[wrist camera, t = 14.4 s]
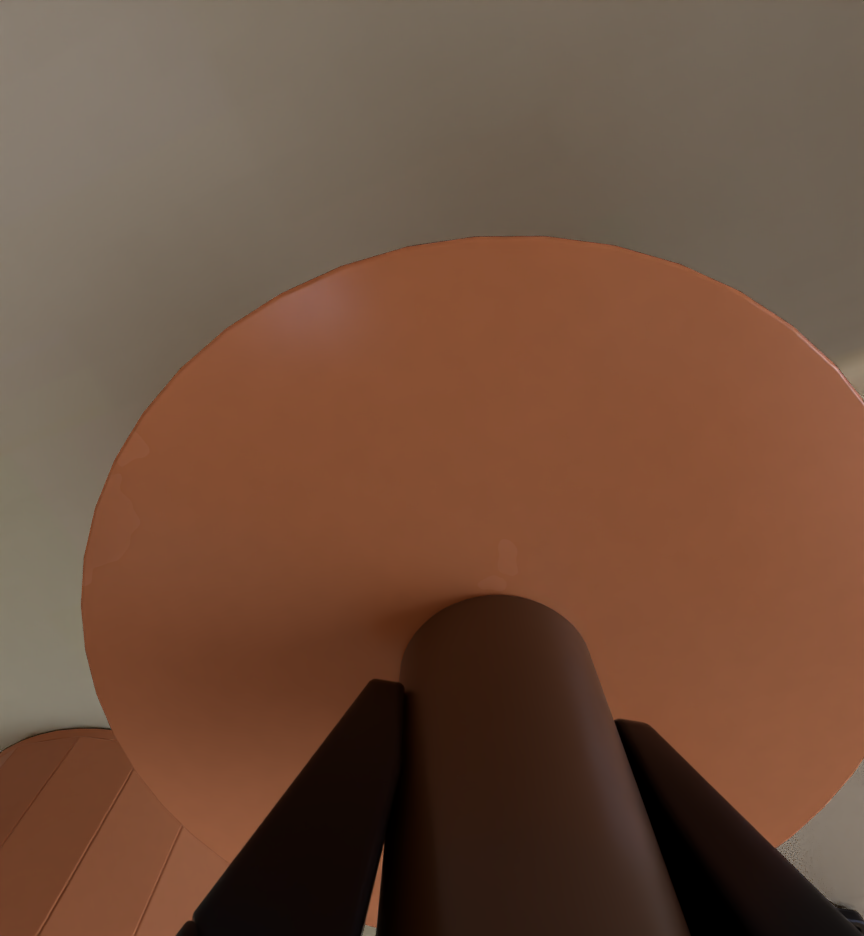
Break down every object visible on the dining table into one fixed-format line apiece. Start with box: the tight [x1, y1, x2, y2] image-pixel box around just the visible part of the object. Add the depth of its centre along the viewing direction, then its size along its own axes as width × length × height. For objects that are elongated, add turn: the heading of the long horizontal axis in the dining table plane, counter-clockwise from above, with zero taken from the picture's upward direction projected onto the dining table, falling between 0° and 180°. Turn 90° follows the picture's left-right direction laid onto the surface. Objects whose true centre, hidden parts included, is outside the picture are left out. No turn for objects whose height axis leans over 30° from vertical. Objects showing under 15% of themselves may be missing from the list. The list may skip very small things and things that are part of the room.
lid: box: [81, 236, 864, 936], centre depth 6 cm, size 11×11×7 cm
